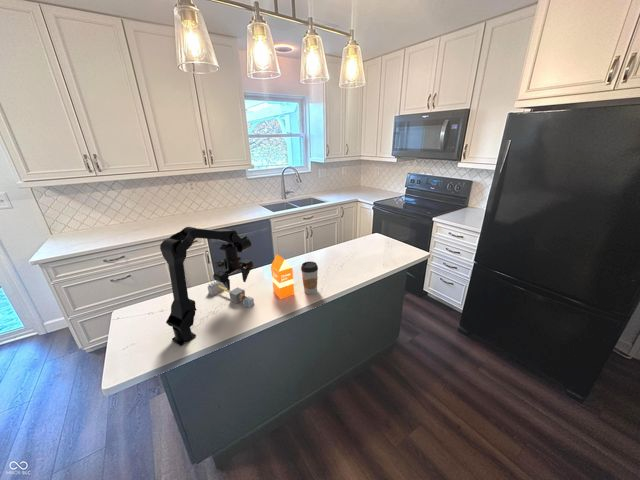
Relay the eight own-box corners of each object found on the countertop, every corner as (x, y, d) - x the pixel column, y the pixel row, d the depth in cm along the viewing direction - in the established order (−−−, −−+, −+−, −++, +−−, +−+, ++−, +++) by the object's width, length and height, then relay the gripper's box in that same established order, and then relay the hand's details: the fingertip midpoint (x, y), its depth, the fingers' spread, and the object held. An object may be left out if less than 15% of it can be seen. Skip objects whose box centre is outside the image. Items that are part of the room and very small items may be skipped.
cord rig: (257, 301, 123) (256, 292, 122) (244, 310, 117) (243, 301, 116) (222, 286, 138) (220, 278, 137) (208, 293, 132) (207, 284, 130)
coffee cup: (304, 297, 126) (302, 269, 121) (300, 288, 134) (299, 262, 129) (320, 294, 128) (319, 266, 123) (316, 285, 136) (315, 260, 131)
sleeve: (245, 297, 126) (244, 290, 124) (237, 302, 122) (235, 295, 120) (238, 294, 128) (237, 287, 127) (230, 299, 125) (229, 292, 123)
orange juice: (280, 299, 125) (276, 261, 118) (273, 291, 132) (269, 255, 125) (294, 293, 129) (292, 257, 122) (286, 286, 136) (283, 251, 129)
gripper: (236, 246, 129) (241, 274, 134) (202, 259, 114) (209, 290, 120) (252, 250, 123) (256, 279, 128) (218, 265, 108) (224, 297, 114)
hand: (236, 286), depth 123 cm, fingers open, 9 cm apart
